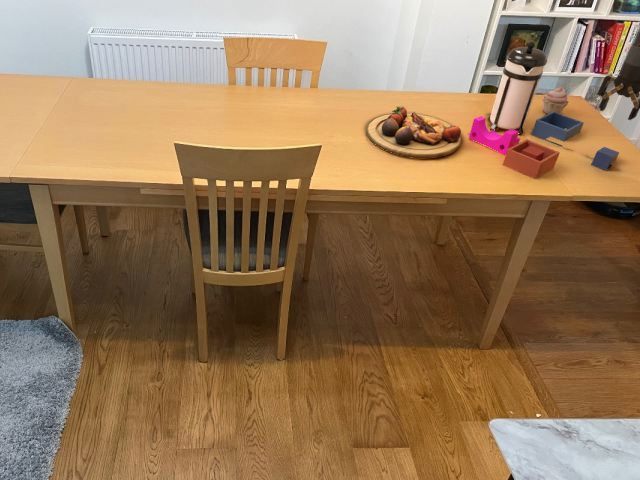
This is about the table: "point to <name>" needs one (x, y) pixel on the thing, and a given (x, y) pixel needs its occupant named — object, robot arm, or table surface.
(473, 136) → the magenta cradle bracket
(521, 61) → the coffee press
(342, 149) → the table surface
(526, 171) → the red bin
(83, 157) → the table surface
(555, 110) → the cupcake
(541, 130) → the blue bin
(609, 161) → the blue block
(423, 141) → the wooden plate
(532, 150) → the red block
